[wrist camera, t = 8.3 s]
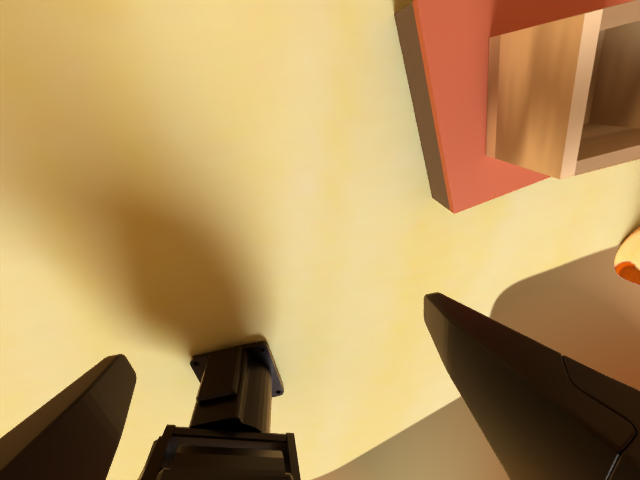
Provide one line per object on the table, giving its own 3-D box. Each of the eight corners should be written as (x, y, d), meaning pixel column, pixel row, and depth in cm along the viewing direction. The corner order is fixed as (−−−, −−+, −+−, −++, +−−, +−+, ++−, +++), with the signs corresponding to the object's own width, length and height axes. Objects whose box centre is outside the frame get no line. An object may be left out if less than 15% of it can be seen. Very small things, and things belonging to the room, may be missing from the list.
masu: (583, 130, 17) (693, 144, 12) (485, 155, 17) (559, 179, 12) (605, 7, 14) (754, -31, 10) (489, 37, 14) (584, 13, 10)
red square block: (583, 135, 20) (637, 143, 17) (429, 195, 21) (454, 213, 18) (593, -73, 15) (671, -114, 12) (391, 16, 16) (416, -1, 13)
